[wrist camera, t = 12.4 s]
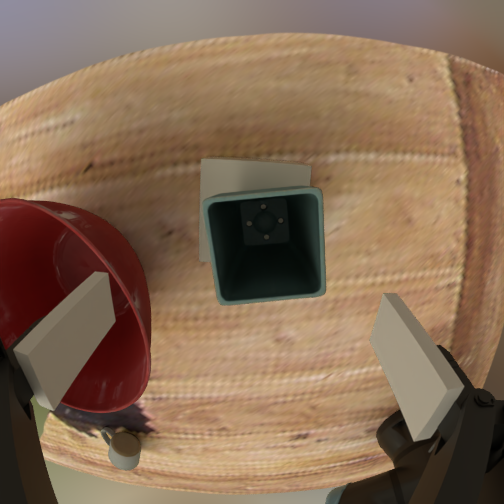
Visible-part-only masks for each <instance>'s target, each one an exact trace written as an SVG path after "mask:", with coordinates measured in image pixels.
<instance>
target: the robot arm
mask: <svg viewBox="0 0 504 504" xmlns="http://www.w3.org/2000/svg"><path fill="white" fill-rule="evenodd" d="M115 321H116V320H115V314H114V309H113V303H112V296H111V290H110V283H109V276H108V273H104V272H96V271H95V272H94V273H93V274H92V275H91V276H89V277H88V278H87V279H86V280H85V281H84V282H83V283H82V284H80V285H79V286H78V287H77V288H76V289H75V290H74V291H73V292H72V293H70V294H69V295H68V296H67V297H66V298H65V299H64V300H63V301H62V302H61V303H60V304H59V305H57V306H56V307H55V308H54V309H53V310H52V311H51V312H50V313H49V314H48V315H47V316H43V317H41V318H40V319H38V320H36V321H35V322H34V323H33V324H32V325H31V326H30V327H29V329H27V330H26V331H24V332H23V334H21V335H20V336H19V337H18V338H17V339H16V340H15V341H14V343H13V344H12V345H11V346H10V347H9V348H8V349H7V350H5V347H4V345H3V342H2V340H1V337H0V504H58V502H57V499H56V496H55V493H54V490H53V488H52V485H51V481H50V478H49V475H48V471H47V468H46V464H45V461H44V457H43V453H42V449H41V445H40V441H39V436H38V432H37V426H36V422H35V416H34V410H33V405H32V403H31V401H30V399H31V398H32V397H33V395H34V396H35V398H36V400H37V401H38V403H39V405H41V406H43V407H46V408H48V409H50V410H53V411H54V410H55V409H56V407H57V405H58V404H59V402H60V401H61V399H62V398H63V396H64V395H65V393H66V392H67V390H68V389H69V387H70V386H71V384H72V382H73V381H74V380H75V378H76V377H77V375H78V374H79V372H80V371H81V369H82V368H83V366H84V365H85V363H86V362H87V360H88V359H89V358H90V356H91V355H92V353H93V352H94V350H95V349H96V348H97V346H98V345H99V343H100V342H101V341H102V339H103V338H104V336H105V335H106V334H107V332H108V331H109V330H110V328H111V327H112V325H113V324H114V323H115ZM369 341H370V343H371V345H372V347H373V349H374V351H375V353H376V355H377V358H378V360H379V362H380V364H381V366H382V368H383V371H384V373H385V375H386V377H387V379H388V382H389V384H390V386H391V388H392V391H393V393H394V395H395V397H396V400H397V402H398V404H399V407H400V409H401V410H399V411H398V412H396V413H395V414H393V415H392V416H390V417H389V418H388V419H387V420H385V421H384V422H383V423H382V425H381V426H380V427H379V429H378V431H377V434H376V437H377V440H378V443H379V445H380V447H381V448H382V449H383V450H384V451H385V453H386V454H387V455H388V456H389V457H390V459H391V460H392V461H393V464H394V467H395V469H392V470H389V471H387V472H384V473H381V474H378V475H375V476H373V477H370V478H366V479H363V480H360V481H357V482H354V483H352V482H351V483H348V484H346V485H344V486H341V487H337V488H335V489H333V490H332V491H331V492H330V493H329V494H328V496H327V498H326V502H325V504H504V400H502V401H501V400H495V398H494V396H493V395H492V394H491V393H490V392H488V391H486V390H484V389H480V388H477V389H475V388H474V387H473V385H472V384H471V382H470V381H469V379H468V378H467V376H466V375H465V373H464V372H463V371H462V369H461V368H459V365H458V364H457V362H456V361H455V359H454V358H453V357H452V355H451V354H450V352H449V351H447V350H446V349H445V348H443V347H442V346H441V345H436V344H435V343H434V342H433V340H432V339H431V338H430V336H429V335H428V333H427V332H426V331H425V329H424V328H423V327H422V325H421V324H420V323H419V321H418V320H417V319H416V317H415V316H414V315H413V314H412V312H411V311H410V310H409V308H408V307H407V306H406V305H405V303H404V302H403V301H402V299H401V298H400V297H399V296H398V294H397V293H383V295H382V299H381V303H380V306H379V310H378V313H377V317H376V320H375V324H374V327H373V330H372V333H371V337H370V340H369Z"/></svg>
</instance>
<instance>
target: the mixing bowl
mask: <svg viewBox="0 0 504 504" xmlns="http://www.w3.org/2000/svg"><path fill="white" fill-rule="evenodd" d="M95 271H96V272H104V273H108V276H109V283H110V290H111V296H112V303H113V309H114V314H115V320H116V321H115V323H114V324H113V325H112V327H111V328H110V330H109V331H108V332H107V334H106V335H105V336H104V338H103V339H102V341H101V342H100V343H99V345H98V346H97V348H96V349H95V350H94V352H93V353H92V355H91V356H90V358H89V359H88V360H87V362H86V363H85V365H84V366H83V368H82V369H81V371H80V372H79V374H78V375H77V377H76V378H75V380H74V381H73V382H72V384H71V386H70V387H69V389H68V390H67V392H66V393H65V395H64V396H63V398H62V399H61V401H60V403H62V404H65V405H67V406H70V407H73V408H76V409H79V410H84V411H88V412H98V413H107V412H114V411H118V410H121V409H124V408H126V407H128V406H130V405H131V404H133V403H134V402H136V401H137V400H138V399H139V398H140V397H141V395H142V394H143V392H144V391H145V389H146V387H147V384H148V381H149V377H150V372H151V353H150V347H151V306H150V298H149V292H148V287H147V283H146V278H145V275H144V271H143V269H142V266H141V264H140V261H139V259H138V257H137V255H136V253H135V252H134V250H133V248H132V247H131V245H130V244H129V242H128V241H127V240H126V239H125V238H124V237H123V235H122V234H121V233H120V232H119V231H118V230H117V229H116V228H114V227H113V226H112V225H111V224H109V223H108V222H107V221H105V220H104V219H102V218H100V217H98V216H96V215H94V214H92V213H90V212H88V211H86V210H83V209H81V208H77V207H74V206H70V205H66V204H62V203H57V202H50V201H33V200H24V199H17V198H8V199H1V200H0V337H1V340H2V342H3V345H4V347H5V350H7V349H8V348H9V347H10V346H11V345H12V344H13V343H14V341H15V340H16V339H17V338H18V337H19V336H20V335H21V334H23V332H24V331H26V330H27V329H29V327H30V326H31V325H32V324H33V323H34V322H35V321H36V320H38V319H40V318H41V317H43V316H47V315H48V314H49V313H50V312H51V311H52V310H53V309H54V308H55V307H56V306H57V305H59V304H60V303H61V302H62V301H63V300H64V299H65V298H66V297H67V296H68V295H69V294H70V293H72V292H73V291H74V290H75V289H76V288H77V287H78V286H79V285H80V284H82V283H83V282H84V281H85V280H86V279H87V278H88V277H89V276H91V275H92V274H93V273H94V272H95Z"/></svg>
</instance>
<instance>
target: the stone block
mask: <svg viewBox="0 0 504 504" xmlns="http://www.w3.org/2000/svg"><path fill="white" fill-rule="evenodd" d="M311 168H312V166H310V165H308V164H305V163H302V162H292V161H281V160H268V159H254V158H237V157H214V156H211V157H206V158H202V159H201V175H200V211H199V261H201V262H211V259H210V252H209V247H208V241H207V235H206V230H205V224H204V218H203V213H202V202H203V200H204V199H206V198H209V197H211V196H214V195H217V194H220V193H228V192H238V191H248V190H258V189H268V188H278V187H289V186H301V185H303V186H310V178H311ZM261 208H262V209H265V208H266V205H264V204H263V205H261ZM278 221H279V223H282V222H283V219H282V218H280V219H279V220H278ZM247 225H248V226H251V225H252V222H250V221H248V222H247ZM264 238H265V239H268V238H269V236H268V235H265V236H264Z"/></svg>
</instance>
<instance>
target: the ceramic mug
mask: <svg viewBox="0 0 504 504" xmlns="http://www.w3.org/2000/svg"><path fill="white" fill-rule="evenodd" d="M106 432H107V433H108V434H110V435H111V436H112V438H111V439H110V438H109V437H108V435H107V434H106ZM101 435H102V437H103V439H104V440H105V442H106V443H107V444H108V445H109V452H108V456H109V459H110V461H111V463H112V464H113V465H114V466H116V467H117V468H119V469H122V470H132V469H134V468H135V467H136V466H137V465H138V463H139V458H140V453H141V446H140V442H139V441H138V439H137V438H136V437H135V436H133V435H132V434H130V433H126V432H119V433H115V432H114V431H113V430H112V429H110V428H108V427H105V428H103V429H102V430H101Z"/></svg>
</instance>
